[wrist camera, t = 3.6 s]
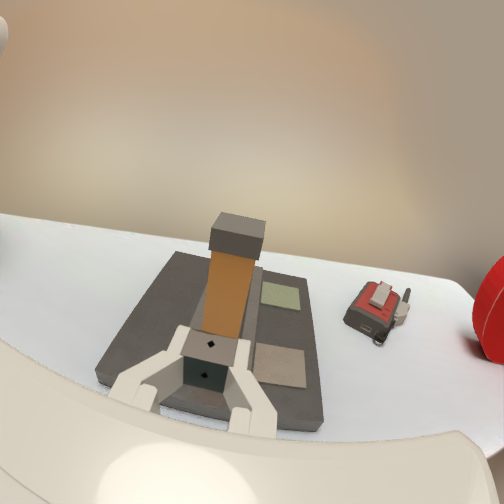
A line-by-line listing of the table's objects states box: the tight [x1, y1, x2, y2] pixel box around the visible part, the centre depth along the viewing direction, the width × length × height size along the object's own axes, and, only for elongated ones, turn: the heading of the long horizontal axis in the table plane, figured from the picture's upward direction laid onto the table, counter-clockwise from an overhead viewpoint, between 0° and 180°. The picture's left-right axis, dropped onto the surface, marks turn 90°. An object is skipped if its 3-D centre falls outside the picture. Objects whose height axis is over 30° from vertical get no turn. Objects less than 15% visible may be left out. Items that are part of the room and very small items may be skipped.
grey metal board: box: [95, 251, 324, 432], centre depth 31 cm, size 20×24×4 cm
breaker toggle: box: [202, 212, 266, 338], centre depth 22 cm, size 3×3×13 cm
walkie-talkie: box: [343, 281, 411, 343], centre depth 40 cm, size 9×4×20 cm
